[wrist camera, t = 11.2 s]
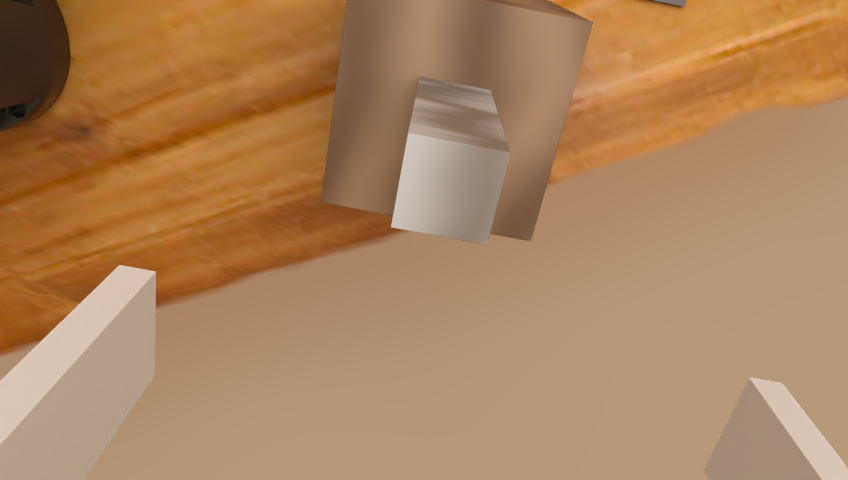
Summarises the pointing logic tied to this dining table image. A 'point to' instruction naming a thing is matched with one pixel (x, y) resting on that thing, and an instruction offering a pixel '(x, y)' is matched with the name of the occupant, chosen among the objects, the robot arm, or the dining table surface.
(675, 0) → the mat
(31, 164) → the dining table surface
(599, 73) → the dining table surface
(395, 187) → the wooden block with peg
